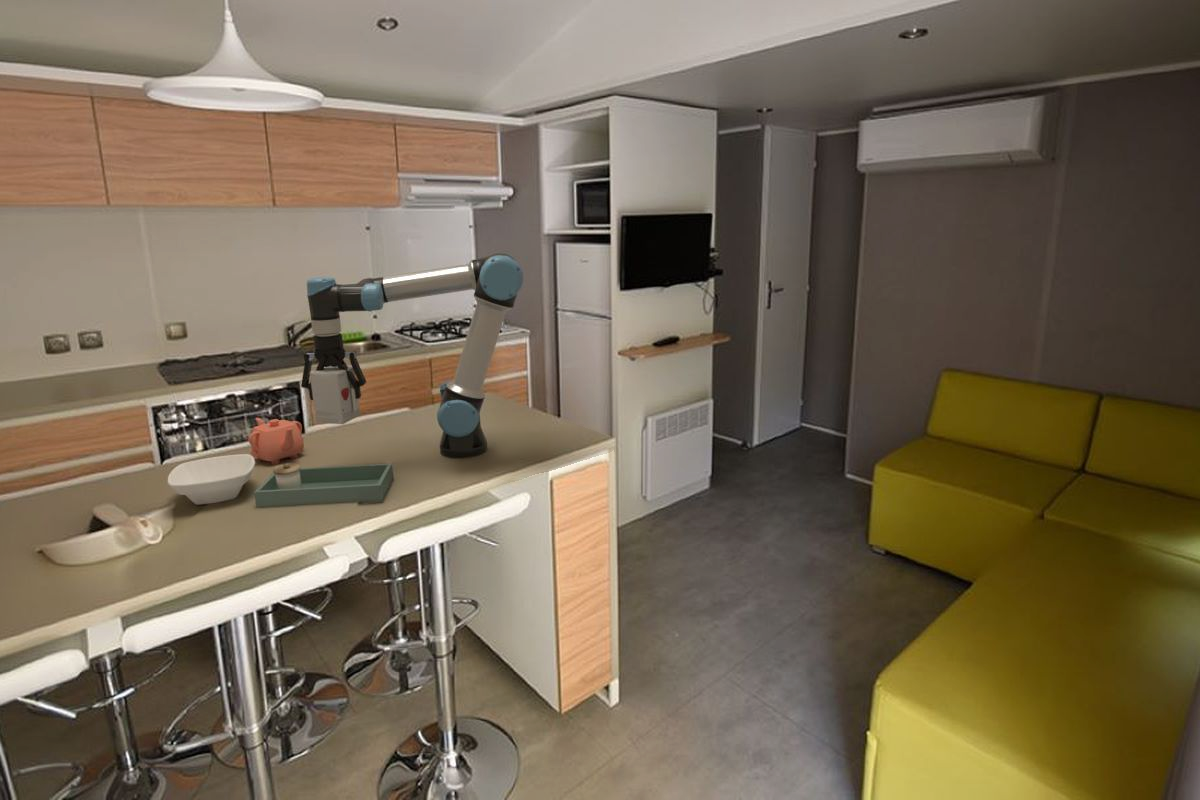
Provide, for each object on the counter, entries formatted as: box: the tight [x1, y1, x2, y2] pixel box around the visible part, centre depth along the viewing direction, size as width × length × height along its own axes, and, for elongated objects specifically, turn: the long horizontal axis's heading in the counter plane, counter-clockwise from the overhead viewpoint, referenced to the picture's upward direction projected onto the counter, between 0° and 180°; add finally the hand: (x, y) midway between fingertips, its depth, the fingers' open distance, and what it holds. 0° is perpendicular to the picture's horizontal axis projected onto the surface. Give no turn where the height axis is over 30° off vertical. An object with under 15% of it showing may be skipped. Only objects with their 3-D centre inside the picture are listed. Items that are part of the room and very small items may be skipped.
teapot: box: [247, 417, 305, 465], centre depth 211 cm, size 15×17×13 cm
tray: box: [253, 462, 395, 508], centre depth 184 cm, size 32×16×5 cm, turn 96°
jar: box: [275, 470, 302, 489], centre depth 183 cm, size 6×6×7 cm
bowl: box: [167, 453, 256, 505], centre depth 183 cm, size 21×21×9 cm
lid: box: [272, 462, 302, 475], centre depth 181 cm, size 7×7×2 cm
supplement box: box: [309, 365, 361, 425], centre depth 192 cm, size 9×9×15 cm
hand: (337, 410), depth 193 cm, fingers closed on supplement box, 10 cm apart
